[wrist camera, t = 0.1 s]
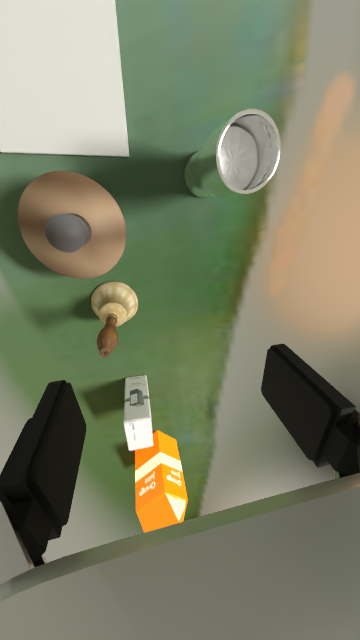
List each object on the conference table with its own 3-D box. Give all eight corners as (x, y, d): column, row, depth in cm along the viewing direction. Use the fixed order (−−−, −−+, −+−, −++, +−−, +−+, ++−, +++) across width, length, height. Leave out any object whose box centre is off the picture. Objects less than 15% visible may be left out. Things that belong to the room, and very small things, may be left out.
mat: (-72, -92, 20) (-77, -99, 19) (109, -56, 23) (109, -62, 22) (3, 153, 28) (0, 151, 28) (129, 156, 31) (129, 156, 30)
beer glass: (225, 196, 36) (280, 190, 23) (184, 204, 35) (216, 201, 22) (223, 143, 32) (285, 100, 19) (177, 150, 32) (211, 110, 19)
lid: (5, 170, 25) (-28, 161, 20) (119, 173, 28) (117, 164, 22) (38, 279, 31) (20, 293, 26) (130, 274, 34) (130, 286, 28)
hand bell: (105, 329, 42) (92, 388, 28) (82, 291, 38) (54, 339, 24) (145, 313, 42) (152, 364, 28) (126, 274, 38) (124, 312, 24)
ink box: (149, 401, 53) (154, 447, 43) (129, 404, 52) (128, 452, 42) (146, 374, 49) (151, 417, 39) (124, 377, 48) (122, 423, 38)
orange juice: (134, 448, 60) (135, 547, 42) (157, 429, 58) (168, 524, 41) (154, 457, 63) (163, 551, 46) (176, 439, 62) (194, 531, 44)
